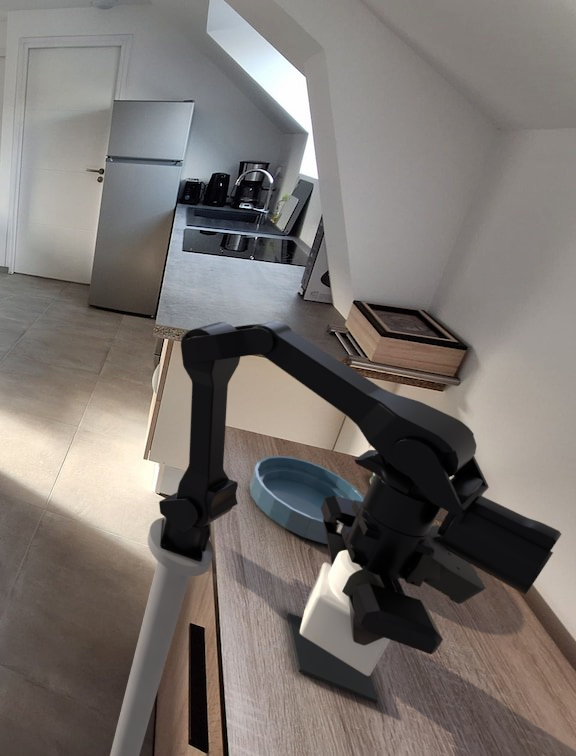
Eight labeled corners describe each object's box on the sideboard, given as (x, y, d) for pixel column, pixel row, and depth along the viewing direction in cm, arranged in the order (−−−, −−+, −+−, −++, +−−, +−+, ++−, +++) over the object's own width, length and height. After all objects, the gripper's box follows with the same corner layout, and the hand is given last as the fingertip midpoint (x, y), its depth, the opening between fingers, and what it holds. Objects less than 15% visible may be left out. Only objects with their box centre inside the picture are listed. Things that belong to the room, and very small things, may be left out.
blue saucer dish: (253, 525, 79) (261, 503, 78) (244, 465, 94) (250, 446, 92) (374, 563, 73) (386, 540, 71) (344, 493, 88) (353, 472, 86)
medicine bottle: (372, 635, 58) (409, 567, 54) (369, 679, 53) (409, 608, 49) (307, 597, 63) (336, 532, 59) (298, 634, 58) (330, 566, 54)
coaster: (298, 671, 58) (299, 668, 57) (287, 615, 64) (288, 612, 64) (376, 703, 55) (378, 700, 54) (356, 641, 61) (357, 638, 61)
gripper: (548, 623, 40) (472, 727, 46) (447, 485, 56) (400, 575, 62) (391, 572, 44) (338, 674, 50) (339, 457, 60) (303, 544, 66)
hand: (348, 610), depth 57 cm, fingers closed on medicine bottle, 8 cm apart
